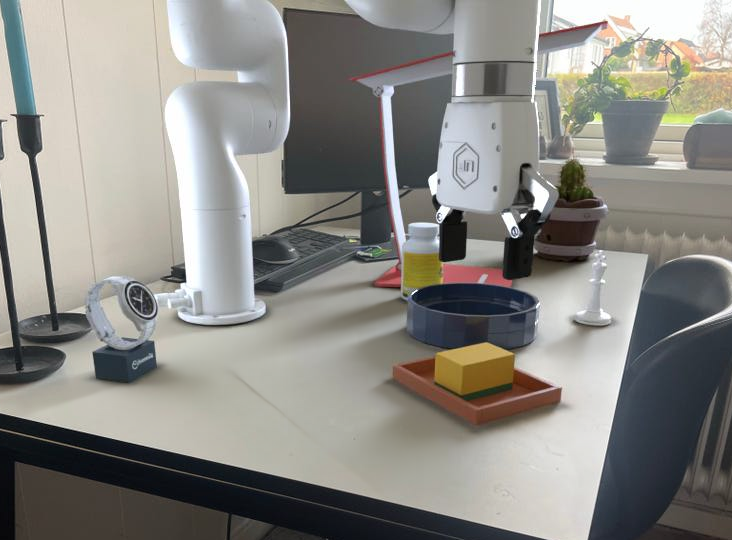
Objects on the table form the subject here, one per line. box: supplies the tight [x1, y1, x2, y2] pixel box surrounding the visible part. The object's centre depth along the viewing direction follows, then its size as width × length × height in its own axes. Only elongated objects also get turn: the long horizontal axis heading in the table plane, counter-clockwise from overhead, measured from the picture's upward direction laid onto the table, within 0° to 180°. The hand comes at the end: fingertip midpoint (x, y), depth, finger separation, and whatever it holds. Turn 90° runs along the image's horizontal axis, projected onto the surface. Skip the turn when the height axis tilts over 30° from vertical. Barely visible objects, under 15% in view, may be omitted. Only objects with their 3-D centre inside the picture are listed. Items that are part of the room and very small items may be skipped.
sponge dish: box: [391, 355, 563, 426], centre depth 75 cm, size 11×14×2 cm
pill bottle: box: [400, 222, 444, 302], centre depth 109 cm, size 6×6×12 cm
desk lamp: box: [348, 20, 609, 288], centre depth 116 cm, size 18×38×40 cm, turn 72°
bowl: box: [406, 282, 541, 350], centre depth 94 cm, size 17×17×5 cm
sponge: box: [434, 342, 516, 401], centre depth 75 cm, size 7×4×4 cm, turn 121°
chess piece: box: [574, 250, 612, 327], centre depth 99 cm, size 5×5×10 cm
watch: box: [84, 275, 159, 384], centre depth 79 cm, size 6×8×11 cm
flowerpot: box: [532, 153, 610, 262], centre depth 139 cm, size 14×15×20 cm
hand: (482, 268), depth 71 cm, fingers open, 9 cm apart
